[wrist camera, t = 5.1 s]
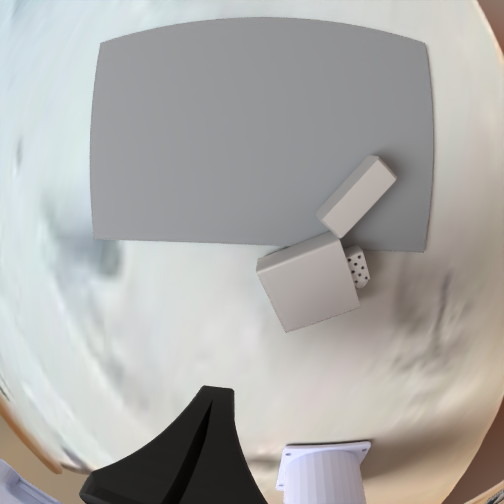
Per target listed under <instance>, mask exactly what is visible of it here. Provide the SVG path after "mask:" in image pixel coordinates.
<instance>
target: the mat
mask: <svg viewBox="0 0 504 504" xmlns="http://www.w3.org/2000/svg"><path fill="white" fill-rule="evenodd" d="M369 155H372V156H378V157H380V158H381V160H382V161H383V162H384V163H385V164H386V165H387V166H388V167H389V168H390V169H391V171H392V172H393V173H394V174H395V175H396V176H397V179H396V181H395V182H394V183H393V184H392V185H391V186H390V187H389V188H388V189H387V191H386V192H385V193H384V194H383V195H382V196H381V197H380V198H379V199H378V200H377V201H376V202H375V204H374V205H373V206H372V207H371V208H370V209H369V210H368V211H367V212H366V213H365V214H364V215H363V216H362V217H361V218H360V220H359V221H358V222H357V223H356V224H355V225H354V226H353V227H352V228H351V229H350V230H349V231H348V232H347V233H346V234H345V235H344V236H343V237H342V238H340V239H339V240H340V242H341V245H342V248H343V249H345V248H348V247H350V246H353V245H355V244H358V245H359V246H360V248H361V249H363V250H384V251H404V252H423V253H424V249H425V243H426V236H427V229H428V221H429V212H430V202H431V190H432V174H433V111H432V95H431V84H430V75H429V66H428V59H427V52H426V46H425V43H423V42H420V41H416V40H413V39H410V38H407V37H403V36H399V35H396V34H392V33H388V32H384V31H380V30H375V29H370V28H366V27H360V26H355V25H349V24H343V23H336V22H329V21H320V20H310V19H297V18H273V17H253V18H229V19H216V20H206V21H197V22H190V23H183V24H176V25H171V26H165V27H160V28H155V29H150V30H146V31H142V32H137V33H133V34H130V35H126V36H122V37H119V38H115V39H112V40H108V41H105V42H102V43H100V49H99V55H98V61H97V67H96V75H95V82H94V91H93V101H92V114H91V131H90V192H91V210H92V223H93V234H94V239H106V240H139V241H168V242H197V243H223V244H249V245H273V246H293V245H296V244H298V243H301V242H303V241H306V240H308V239H311V238H314V237H316V236H319V235H321V234H324V233H326V232H329V231H330V230H329V229H328V228H327V227H326V226H325V225H324V224H323V223H322V222H321V221H319V219H318V217H317V215H316V212H317V210H318V209H319V208H320V207H321V206H322V205H323V204H324V203H325V202H326V200H327V199H328V198H329V197H330V196H331V195H332V194H333V193H334V192H335V191H336V190H337V189H338V188H339V186H340V185H341V184H342V183H343V182H344V181H345V180H346V179H347V178H348V177H349V176H350V175H351V173H352V172H353V171H354V170H355V169H356V168H357V167H358V166H359V165H360V164H361V163H362V161H363V160H364V159H365V158H366V157H367V156H369Z"/></svg>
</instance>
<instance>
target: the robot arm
mask: <svg viewBox="0 0 504 504" xmlns="http://www.w3.org/2000/svg"><path fill="white" fill-rule="evenodd" d="M234 417H235V413H234V390H233V389H230V388H221V387H212V386H205V385H204V386H202V387H201V389H200V390H199V392H198V393H197V395H196V396H195V397H194V399H193V400H192V401H191V402H190V404H189V405H188V406H187V407H186V408H185V409H184V411H183V412H182V413H181V414H180V415H179V416H178V417H177V418H176V419H175V420H174V421H173V422H172V423H171V424H170V425H169V426H168V427H167V428H166V429H165V430H164V431H163V432H162V433H161V434H159V435H158V436H157V437H156V438H154V439H153V440H152V441H151V442H149V443H148V444H146V445H145V446H143V447H142V448H141V449H139V450H137V451H136V452H134V453H133V454H131V455H129V456H127V457H125V458H123V459H121V460H119V461H117V462H115V463H113V464H111V465H108V466H106V467H103V468H101V469H98V470H95V471H93V472H92V473H91V474H90V476H89V477H88V478H87V480H86V481H85V483H84V485H83V487H82V489H81V491H80V493H79V495H80V498H81V499H82V500H83V501H84V502H85V503H86V504H268V503H267V501H266V500H265V498H264V497H263V495H262V493H261V492H260V490H259V488H258V486H257V484H256V482H255V480H254V478H253V476H252V474H251V472H250V470H249V468H248V465H247V463H246V460H245V458H244V455H243V452H242V449H241V446H240V443H239V439H238V435H237V431H236V426H235V420H234ZM370 447H371V442H369V441H365V442H356V443H345V444H331V445H306V446H286V447H284V448H283V453H282V459H281V464H280V468H279V473H278V478H277V483H276V489H277V490H284V495H283V504H366V498H365V493H364V487H363V482H362V477H361V471H360V465H361V463H362V461H363V459H364V458H365V456H366V454H367V452H368V451H369V449H370ZM0 504H63V503H61V502H59V501H58V500H56V499H54V498H53V497H51V496H49V495H48V494H46V493H44V492H43V491H41V490H40V489H38V488H37V487H35V486H33V485H32V484H30V483H29V482H28V481H26V480H25V479H23V478H22V477H20V475H19V474H18V473H17V472H16V471H15V470H14V469H13V468H12V467H11V466H10V465H8V464H7V463H6V462H5V461H3V460H2V459H1V458H0Z"/></svg>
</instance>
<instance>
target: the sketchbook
mask: <svg viewBox="0 0 504 504" xmlns="http://www.w3.org/2000/svg"><path fill="white" fill-rule="evenodd" d="M503 499H504V489H502V490H501V491H500V492H498V493H497V494H495V495H494V496H492V497H491V498H489V499H488V501H487V502H486V504H498V503H499V502H501V501H502V500H503Z"/></svg>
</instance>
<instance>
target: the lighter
mask: <svg viewBox="0 0 504 504" xmlns="http://www.w3.org/2000/svg"><path fill="white" fill-rule="evenodd" d="M396 179H397V176H396V175H395V174H394V173H393V172H392V171H391V169H390V168H389V167H388V166H387V165H386V164H385V163H384V162H383V161H382V160H381V158H380V157H378V156H372V155H369V156H367V157H366V158H365V159H364V160H363V161H362V163H361V164H360V165H359V166H358V167H357V168H356V169H355V170H354V171H353V172H352V173H351V175H350V176H349V177H348V178H347V179H346V180H345V181H344V182H343V183H342V184H341V185H340V186H339V188H338V189H337V190H336V191H335V192H334V193H333V194H332V195H331V196H330V197H329V198H328V199H327V200H326V202H325V203H324V204H323V205H322V206H321V207H320V208H319V209H318V210H317V212H316V215H317V217H318V219H319V221H321V222H322V223H323V224H324V225H325V226H326V227H327V228H328V229H329V230H330V231H329V232H326V233H324V234H321V235H319V236H316V237H314V238H311V239H308V240H306V241H303V242H301V243H298V244H296V245H293V246H290V247H288V248H285V249H283V250H280V251H277V252H275V253H272V254H270V255H267V256H264V257H262V258H259V259H258V261H257V267H256V272H257V275H258V277H259V279H260V281H261V283H262V285H263V287H264V289H265V292H266V294H267V296H268V298H269V300H270V302H271V304H272V306H273V308H274V310H275V312H276V314H277V316H278V318H279V320H280V322H281V324H282V326H283V328H284V331H285V332H286V333H287V332H290V331H293V330H296V329H299V328H302V327H305V326H308V325H311V324H314V323H317V322H320V321H323V320H326V319H328V318H331V317H334V316H337V315H339V314H342V313H345V312H348V311H350V310H353V309H355V308H358V307H360V303H359V299H358V296H357V293H356V289H355V288H363V287H364V286H365V285H367V282H368V280H370V275H369V272H368V268H367V264H366V261H365V257H364V254H363V251H362V249H361V248H360V246H359V245H358V244H355V245H353V246H350V247H348V248H345V249H343V248H342V245H341V242H340V240H339V239H340V238H342V237H343V236H344V235H345V234H346V233H347V232H348V231H349V230H350V229H351V228H352V227H353V226H354V225H355V224H356V223H357V222H358V221H359V220H360V218H361V217H362V216H363V215H364V214H365V213H366V212H367V211H368V210H369V209H370V208H371V207H372V206H373V205H374V204H375V202H376V201H377V200H378V199H379V198H380V197H381V196H382V195H383V194H384V193H385V192H386V191H387V189H388V188H389V187H390V186H391V185H392V184H393V183H394V182H395V181H396Z"/></svg>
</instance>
